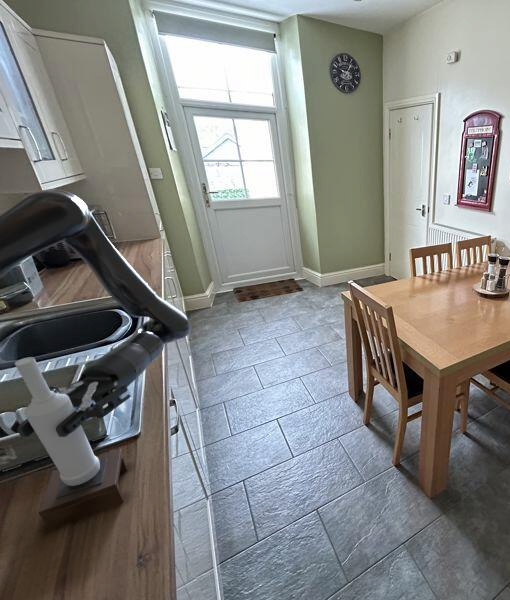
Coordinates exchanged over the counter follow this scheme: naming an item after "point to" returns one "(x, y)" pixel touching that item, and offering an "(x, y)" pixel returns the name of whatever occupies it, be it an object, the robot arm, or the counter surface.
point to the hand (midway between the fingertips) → (41, 432)
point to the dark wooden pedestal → (83, 493)
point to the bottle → (47, 416)
